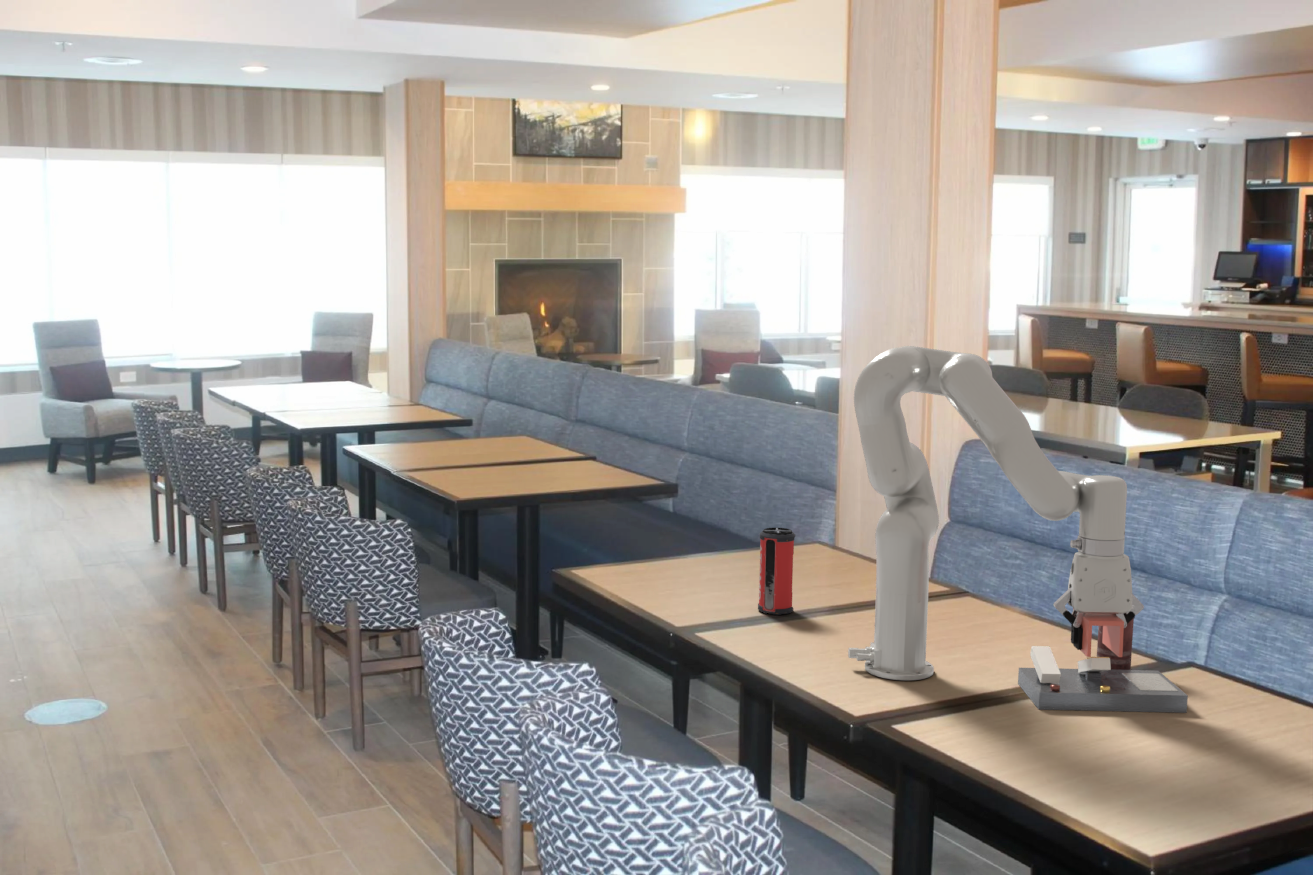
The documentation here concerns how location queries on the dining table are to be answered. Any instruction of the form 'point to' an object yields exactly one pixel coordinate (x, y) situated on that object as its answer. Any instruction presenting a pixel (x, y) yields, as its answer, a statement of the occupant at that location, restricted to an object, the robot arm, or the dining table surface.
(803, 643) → the dining table surface
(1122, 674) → the panel
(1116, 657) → the can
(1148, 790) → the dining table surface
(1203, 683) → the dining table surface
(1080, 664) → the block
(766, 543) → the speaker
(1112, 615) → the cap
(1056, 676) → the block
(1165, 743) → the dining table surface
